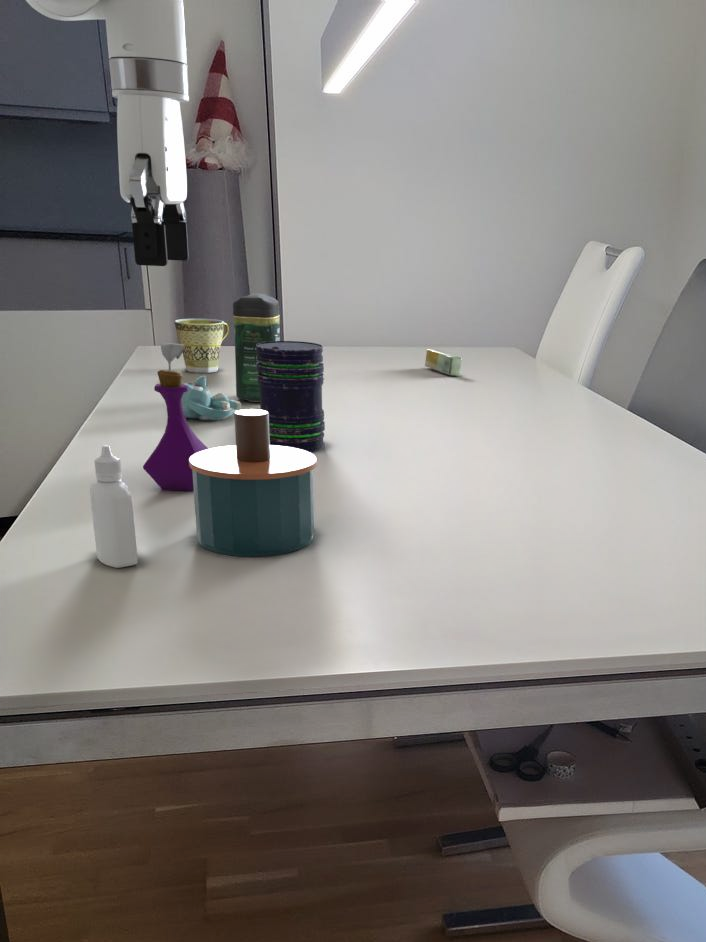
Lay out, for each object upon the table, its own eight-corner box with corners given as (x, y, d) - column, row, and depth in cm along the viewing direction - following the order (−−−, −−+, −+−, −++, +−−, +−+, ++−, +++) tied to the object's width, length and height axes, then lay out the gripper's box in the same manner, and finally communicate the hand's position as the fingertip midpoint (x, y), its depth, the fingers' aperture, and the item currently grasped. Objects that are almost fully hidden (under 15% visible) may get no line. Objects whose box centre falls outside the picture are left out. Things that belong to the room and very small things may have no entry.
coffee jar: (276, 404, 188) (272, 297, 180) (232, 402, 188) (227, 295, 180) (286, 394, 197) (282, 292, 189) (244, 393, 197) (239, 290, 189)
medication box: (460, 376, 225) (463, 357, 224) (449, 375, 224) (452, 357, 223) (434, 366, 235) (436, 348, 233) (423, 366, 233) (426, 347, 232)
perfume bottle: (203, 495, 131) (193, 349, 124) (144, 492, 131) (131, 346, 124) (218, 480, 138) (209, 341, 131) (162, 477, 138) (150, 338, 131)
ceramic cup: (201, 375, 212) (198, 325, 208) (167, 369, 217) (164, 320, 213) (246, 369, 222) (244, 320, 218) (213, 363, 227) (211, 316, 223)
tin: (186, 555, 110) (181, 476, 106) (211, 520, 121) (206, 448, 118) (306, 558, 110) (304, 480, 107) (319, 523, 122) (317, 452, 118)
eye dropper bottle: (142, 551, 110) (131, 439, 105) (136, 568, 105) (125, 452, 100) (98, 552, 109) (86, 439, 104) (91, 570, 104) (78, 452, 99)
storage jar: (292, 436, 164) (289, 339, 158) (338, 446, 159) (337, 346, 153) (245, 446, 157) (240, 344, 151) (292, 456, 151) (289, 352, 146)
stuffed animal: (257, 385, 174) (191, 377, 165) (251, 428, 176) (186, 422, 167) (226, 376, 181) (161, 367, 173) (221, 417, 183) (157, 410, 175)
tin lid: (176, 483, 106) (171, 423, 104) (204, 452, 118) (200, 398, 116) (309, 487, 107) (308, 427, 104) (323, 456, 119) (322, 402, 117)
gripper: (135, 89, 112) (149, 256, 119) (85, 72, 96) (104, 266, 103) (205, 92, 113) (214, 259, 119) (166, 76, 97) (180, 269, 104)
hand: (163, 262), depth 111 cm, fingers open, 9 cm apart
